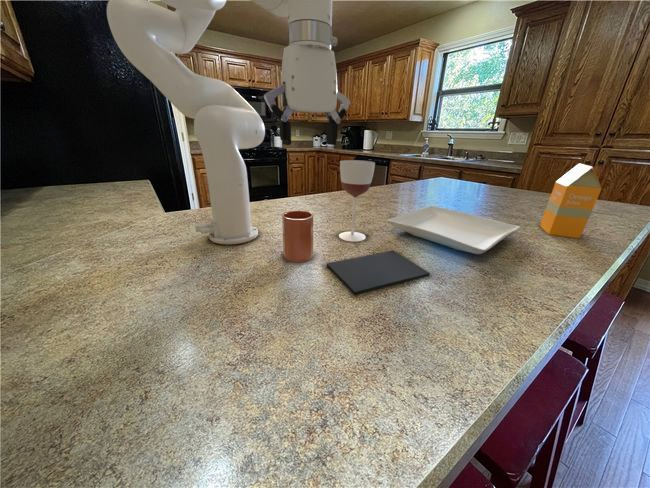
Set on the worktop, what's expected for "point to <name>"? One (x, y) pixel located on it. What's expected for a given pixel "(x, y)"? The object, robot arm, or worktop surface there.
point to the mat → (376, 271)
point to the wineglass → (355, 188)
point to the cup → (297, 235)
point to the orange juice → (571, 202)
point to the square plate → (454, 228)
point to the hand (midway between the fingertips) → (309, 144)
